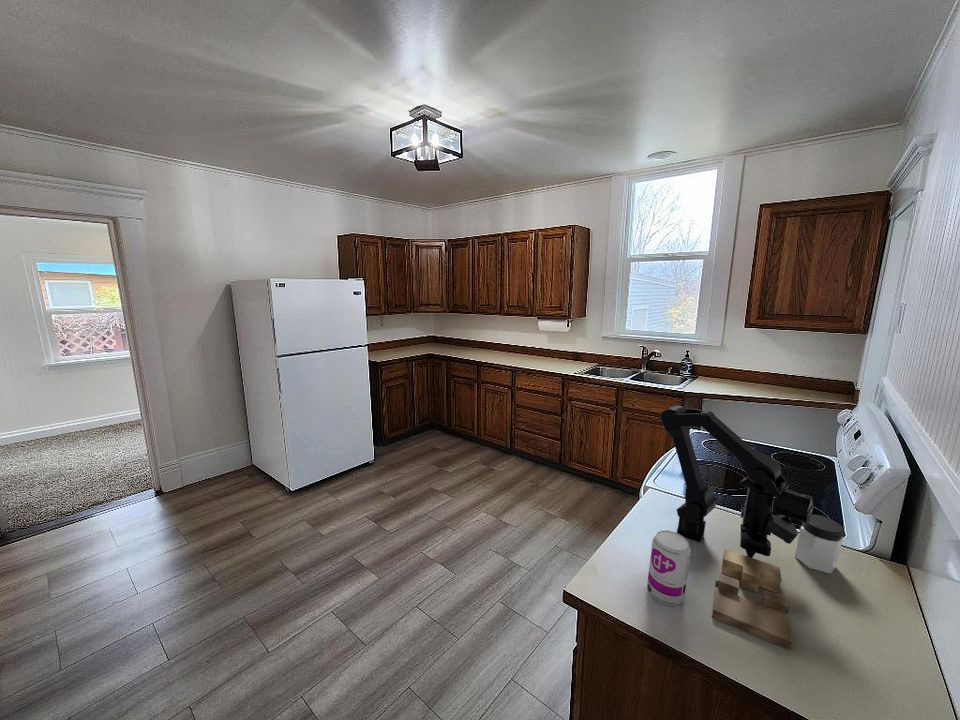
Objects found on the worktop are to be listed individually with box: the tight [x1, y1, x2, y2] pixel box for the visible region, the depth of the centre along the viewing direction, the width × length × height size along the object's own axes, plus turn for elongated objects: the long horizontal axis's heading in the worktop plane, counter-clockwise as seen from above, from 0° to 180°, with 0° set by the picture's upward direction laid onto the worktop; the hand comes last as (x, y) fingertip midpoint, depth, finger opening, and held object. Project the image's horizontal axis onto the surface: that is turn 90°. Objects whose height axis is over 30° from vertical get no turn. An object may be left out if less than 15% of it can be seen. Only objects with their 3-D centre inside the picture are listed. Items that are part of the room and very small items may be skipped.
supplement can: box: [646, 530, 692, 607], centre depth 93 cm, size 8×8×15 cm
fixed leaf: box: [711, 573, 792, 650], centre depth 89 cm, size 14×11×4 cm
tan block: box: [721, 548, 782, 594], centre depth 99 cm, size 12×8×4 cm, turn 56°
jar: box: [794, 514, 845, 574], centre depth 105 cm, size 9×8×12 cm
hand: (749, 556), depth 106 cm, fingers closed
